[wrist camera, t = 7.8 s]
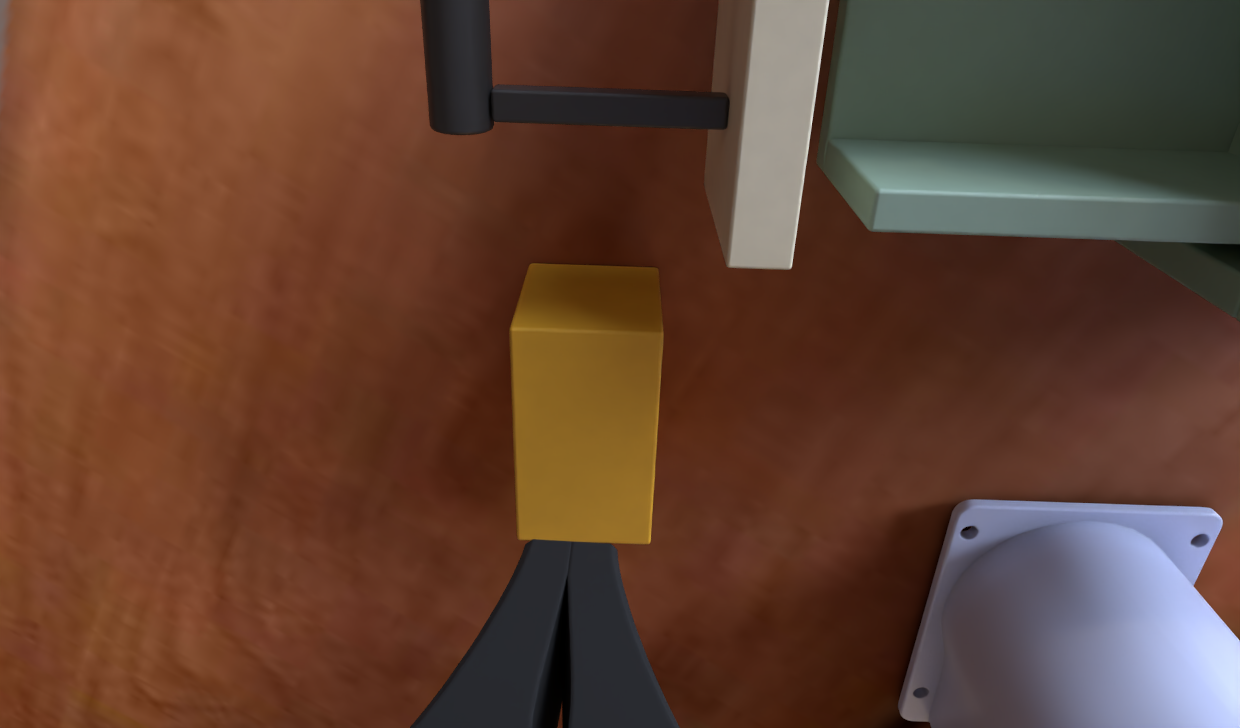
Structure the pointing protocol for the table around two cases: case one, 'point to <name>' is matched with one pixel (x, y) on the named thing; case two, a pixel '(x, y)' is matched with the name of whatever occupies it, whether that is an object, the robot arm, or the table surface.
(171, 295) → the table surface
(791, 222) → the drawer
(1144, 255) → the cabinet
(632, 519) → the block
